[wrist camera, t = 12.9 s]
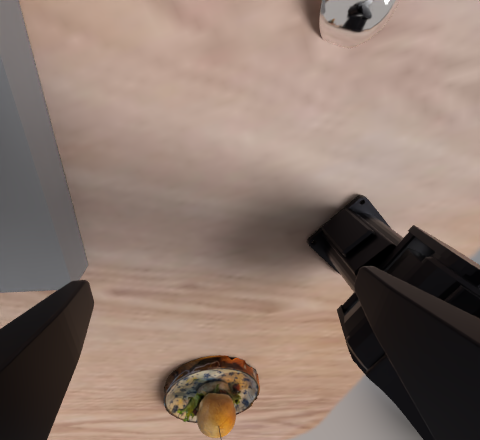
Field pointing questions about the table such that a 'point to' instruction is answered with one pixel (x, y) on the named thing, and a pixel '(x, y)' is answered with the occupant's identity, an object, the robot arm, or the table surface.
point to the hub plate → (31, 175)
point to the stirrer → (354, 20)
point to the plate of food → (211, 393)
